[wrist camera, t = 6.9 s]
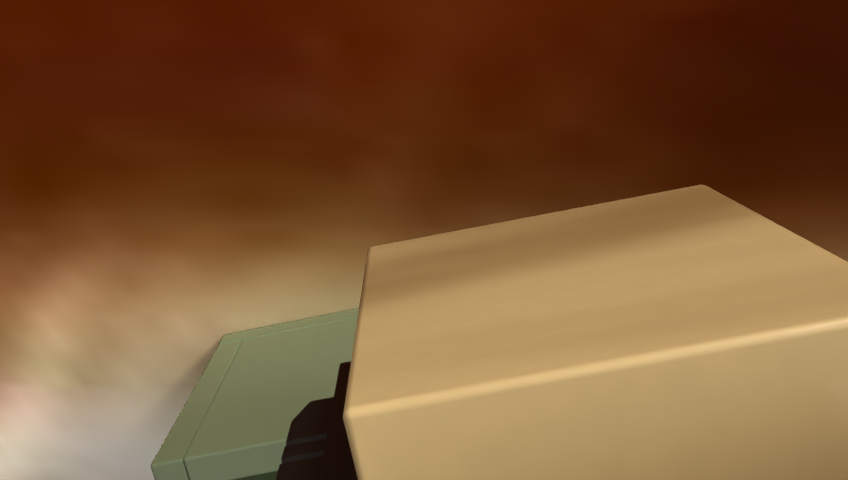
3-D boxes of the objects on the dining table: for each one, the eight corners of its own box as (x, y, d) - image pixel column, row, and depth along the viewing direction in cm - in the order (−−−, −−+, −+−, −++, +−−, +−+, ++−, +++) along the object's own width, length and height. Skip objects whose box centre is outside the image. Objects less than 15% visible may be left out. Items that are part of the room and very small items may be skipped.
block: (366, 246, 11) (339, 412, 6) (705, 181, 11) (935, 303, 6) (428, 533, 13) (445, 847, 8) (731, 478, 13) (937, 765, 8)
